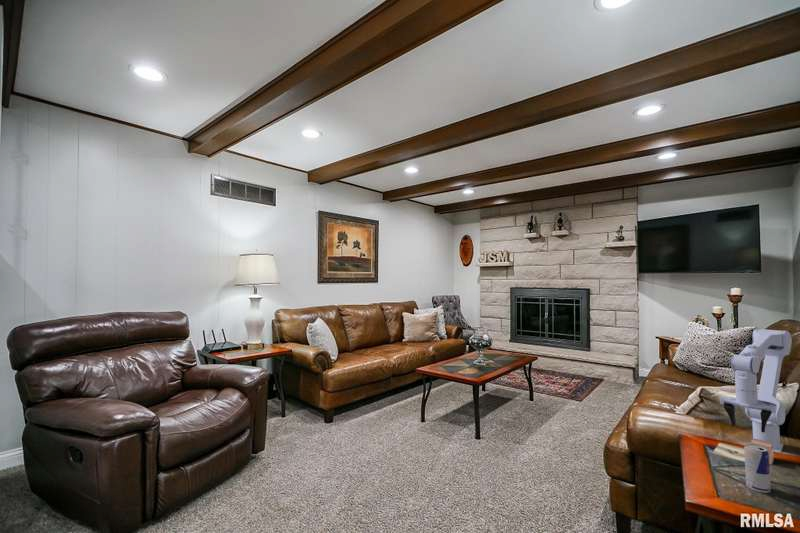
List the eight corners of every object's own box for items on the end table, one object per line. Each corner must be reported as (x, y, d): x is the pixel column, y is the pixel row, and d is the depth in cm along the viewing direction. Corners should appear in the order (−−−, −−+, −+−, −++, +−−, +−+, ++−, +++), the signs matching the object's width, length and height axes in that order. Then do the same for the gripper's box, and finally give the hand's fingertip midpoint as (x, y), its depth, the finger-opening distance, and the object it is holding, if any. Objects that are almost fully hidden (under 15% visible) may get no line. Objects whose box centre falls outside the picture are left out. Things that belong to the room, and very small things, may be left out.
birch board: (719, 443, 144) (719, 442, 144) (751, 451, 137) (751, 450, 137) (712, 454, 135) (711, 452, 135) (745, 462, 128) (745, 461, 128)
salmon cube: (753, 455, 133) (752, 438, 134) (773, 460, 130) (772, 442, 130) (751, 460, 130) (750, 442, 130) (771, 465, 126) (770, 447, 127)
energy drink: (775, 494, 110) (773, 452, 110) (754, 492, 111) (752, 450, 111) (762, 484, 115) (760, 444, 115) (741, 483, 116) (739, 443, 116)
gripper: (717, 387, 137) (719, 425, 137) (773, 396, 126) (775, 437, 126) (721, 384, 142) (723, 420, 141) (775, 392, 131) (778, 432, 130)
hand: (748, 428), depth 134 cm, fingers open, 7 cm apart
